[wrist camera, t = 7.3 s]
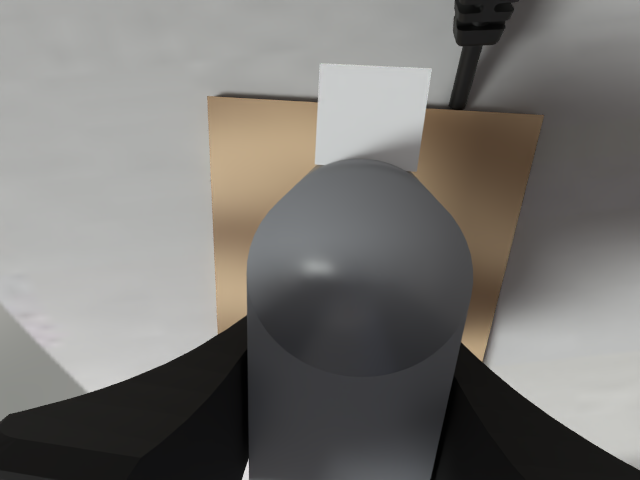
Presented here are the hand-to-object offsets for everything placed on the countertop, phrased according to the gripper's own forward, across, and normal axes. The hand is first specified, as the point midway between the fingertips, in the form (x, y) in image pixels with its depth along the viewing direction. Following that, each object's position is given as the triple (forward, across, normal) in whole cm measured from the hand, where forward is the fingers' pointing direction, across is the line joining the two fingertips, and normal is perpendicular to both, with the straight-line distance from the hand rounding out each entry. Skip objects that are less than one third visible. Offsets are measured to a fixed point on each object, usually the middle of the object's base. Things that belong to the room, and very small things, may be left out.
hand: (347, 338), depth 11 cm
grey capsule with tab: (+1, 0, 0) cm, 1 cm away
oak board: (+7, 0, 0) cm, 7 cm away
